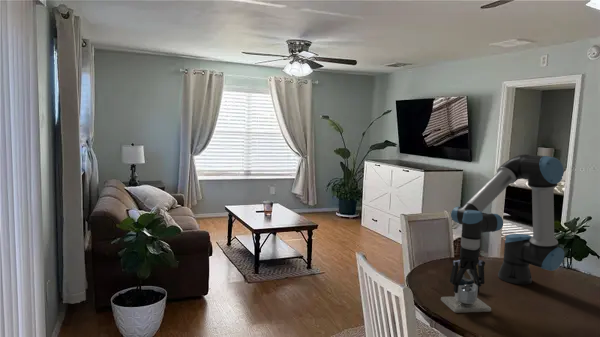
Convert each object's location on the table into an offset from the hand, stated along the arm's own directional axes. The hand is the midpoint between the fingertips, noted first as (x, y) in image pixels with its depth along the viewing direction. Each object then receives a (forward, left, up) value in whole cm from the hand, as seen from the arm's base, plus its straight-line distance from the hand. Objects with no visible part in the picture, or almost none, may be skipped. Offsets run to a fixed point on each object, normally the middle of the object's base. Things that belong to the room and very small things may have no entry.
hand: (465, 299), depth 176 cm
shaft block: (0, 0, -3) cm, 3 cm away
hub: (0, 0, 0) cm, 0 cm away
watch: (-12, -20, -3) cm, 24 cm away
